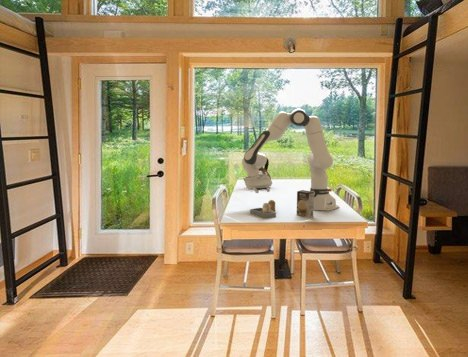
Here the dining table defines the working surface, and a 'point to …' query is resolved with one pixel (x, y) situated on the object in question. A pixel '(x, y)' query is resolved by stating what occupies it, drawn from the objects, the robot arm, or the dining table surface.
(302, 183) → the dining table surface
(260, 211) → the egg carton
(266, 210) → the cream egg
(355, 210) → the dining table surface
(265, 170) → the ceramic pitcher
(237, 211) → the dining table surface
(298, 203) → the coffee box
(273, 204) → the brown rounded oval piece
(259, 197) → the dining table surface
